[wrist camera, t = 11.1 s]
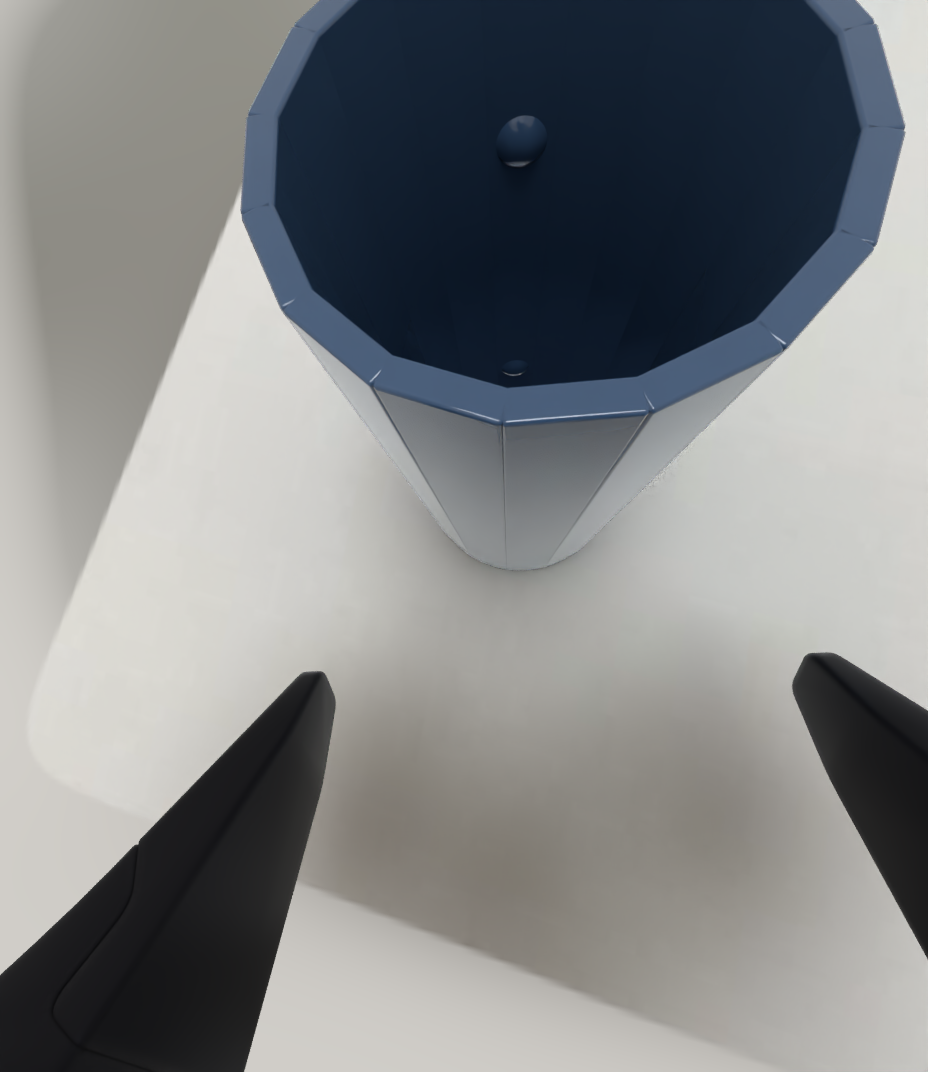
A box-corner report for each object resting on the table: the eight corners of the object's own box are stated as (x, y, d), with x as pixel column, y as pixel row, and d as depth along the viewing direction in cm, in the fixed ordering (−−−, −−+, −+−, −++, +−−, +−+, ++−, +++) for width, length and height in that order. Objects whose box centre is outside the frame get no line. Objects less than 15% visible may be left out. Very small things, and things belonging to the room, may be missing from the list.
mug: (617, 565, 17) (982, 387, 4) (434, 575, 17) (223, 448, 4) (591, 323, 18) (779, -341, 6) (428, 340, 19) (265, -228, 6)
